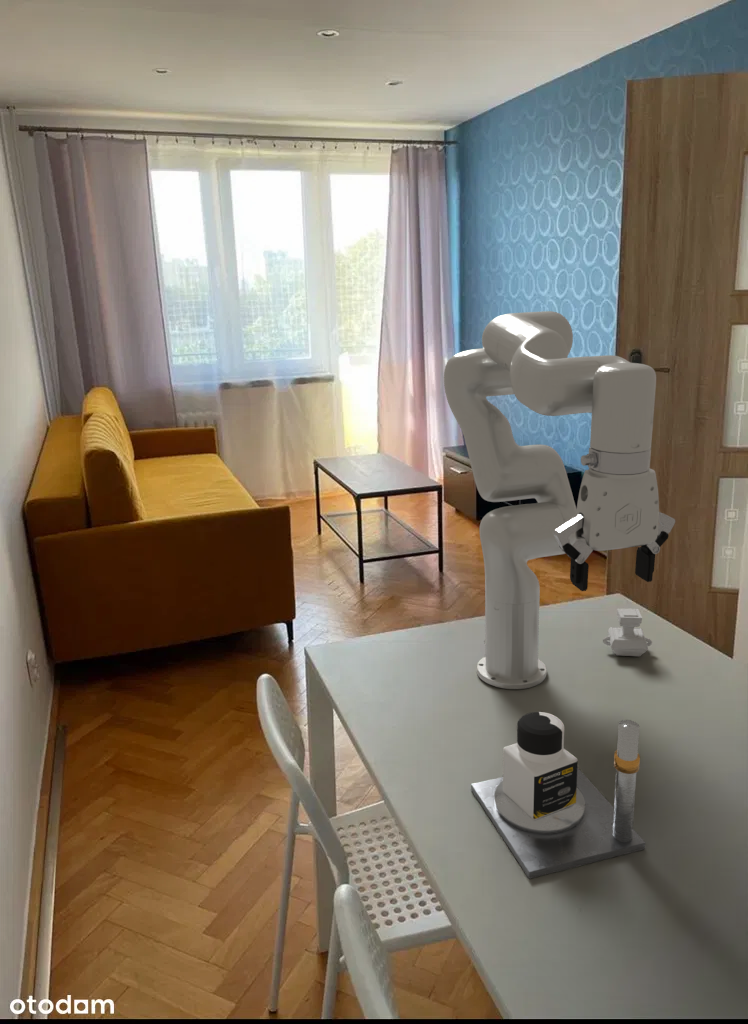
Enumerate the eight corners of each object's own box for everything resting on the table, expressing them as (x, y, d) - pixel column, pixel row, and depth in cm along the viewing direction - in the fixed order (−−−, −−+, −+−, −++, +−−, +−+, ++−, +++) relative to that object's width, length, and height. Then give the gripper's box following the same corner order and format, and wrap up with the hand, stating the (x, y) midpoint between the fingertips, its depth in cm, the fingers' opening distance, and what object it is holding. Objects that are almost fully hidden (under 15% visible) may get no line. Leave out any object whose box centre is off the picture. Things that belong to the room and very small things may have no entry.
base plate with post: (471, 789, 110) (470, 682, 106) (572, 767, 114) (576, 663, 110) (528, 878, 94) (531, 756, 89) (644, 849, 98) (653, 730, 93)
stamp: (648, 645, 151) (651, 605, 148) (654, 661, 144) (657, 620, 142) (600, 643, 152) (602, 603, 150) (604, 659, 146) (606, 618, 144)
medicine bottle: (533, 822, 101) (535, 741, 97) (501, 791, 107) (502, 714, 104) (577, 804, 104) (580, 725, 100) (543, 776, 110) (545, 700, 106)
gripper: (572, 474, 95) (566, 602, 100) (696, 461, 99) (684, 585, 104) (544, 460, 102) (540, 580, 107) (661, 448, 106) (652, 565, 111)
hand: (611, 582), depth 106 cm, fingers open, 9 cm apart
